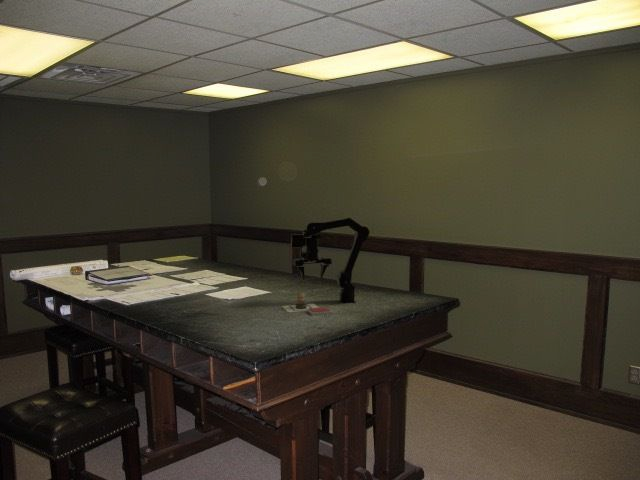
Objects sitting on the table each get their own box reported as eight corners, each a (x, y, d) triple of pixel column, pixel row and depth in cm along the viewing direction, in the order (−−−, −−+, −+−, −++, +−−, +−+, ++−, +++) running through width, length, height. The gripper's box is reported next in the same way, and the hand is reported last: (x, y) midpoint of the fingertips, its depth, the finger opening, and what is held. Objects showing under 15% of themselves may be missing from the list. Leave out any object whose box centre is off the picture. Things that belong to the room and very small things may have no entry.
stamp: (307, 308, 239) (307, 292, 238) (297, 309, 237) (297, 293, 236) (304, 306, 244) (304, 290, 243) (294, 306, 242) (294, 291, 241)
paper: (313, 304, 248) (313, 303, 248) (321, 310, 237) (321, 309, 237) (281, 306, 244) (281, 305, 244) (287, 312, 232) (287, 311, 232)
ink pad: (327, 309, 238) (327, 306, 238) (332, 313, 230) (332, 310, 230) (306, 311, 235) (306, 308, 235) (311, 315, 227) (311, 312, 227)
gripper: (324, 244, 260) (324, 275, 262) (289, 246, 254) (289, 277, 256) (332, 247, 250) (332, 278, 252) (295, 249, 244) (296, 281, 245)
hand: (312, 278), depth 251 cm, fingers open, 9 cm apart
